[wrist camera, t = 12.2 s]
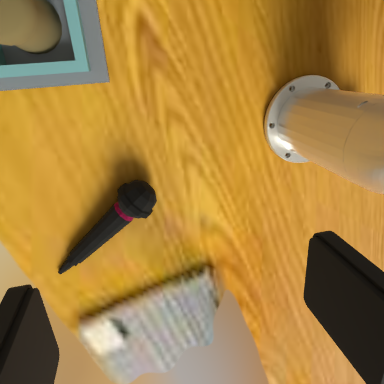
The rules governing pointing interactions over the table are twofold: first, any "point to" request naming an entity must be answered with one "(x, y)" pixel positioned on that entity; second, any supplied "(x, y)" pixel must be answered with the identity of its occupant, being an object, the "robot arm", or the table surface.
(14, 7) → the cork
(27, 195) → the table surface
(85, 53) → the socket
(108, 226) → the microphone
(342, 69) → the table surface
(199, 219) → the table surface
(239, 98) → the table surface
